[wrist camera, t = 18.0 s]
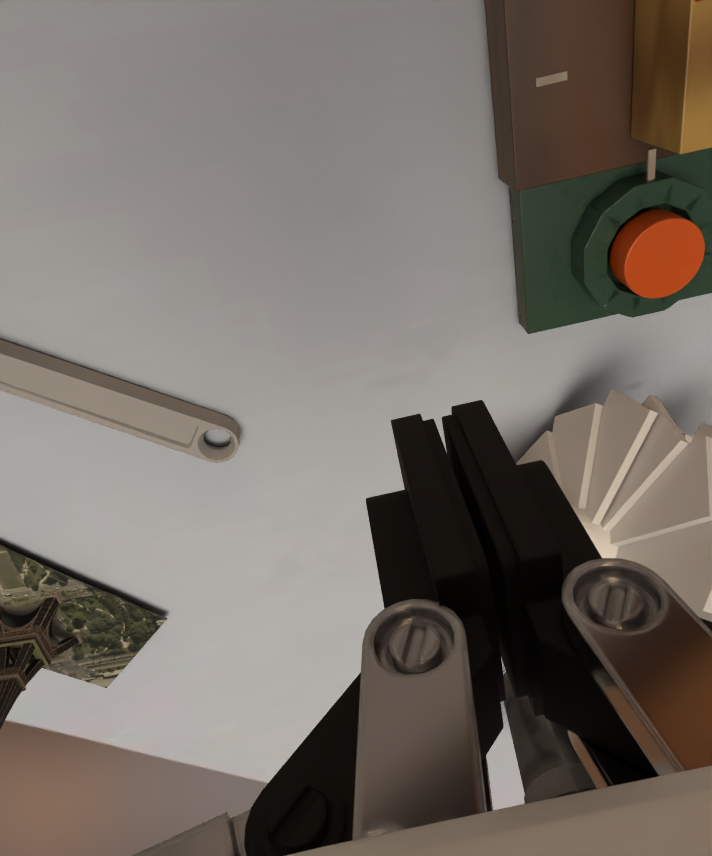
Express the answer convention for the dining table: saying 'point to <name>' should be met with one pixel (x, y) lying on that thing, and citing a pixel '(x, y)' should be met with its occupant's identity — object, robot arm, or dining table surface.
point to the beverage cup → (543, 753)
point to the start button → (657, 253)
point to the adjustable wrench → (114, 403)
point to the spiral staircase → (638, 488)
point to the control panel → (563, 89)
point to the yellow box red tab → (673, 74)
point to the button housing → (601, 239)
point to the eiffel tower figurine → (62, 628)
